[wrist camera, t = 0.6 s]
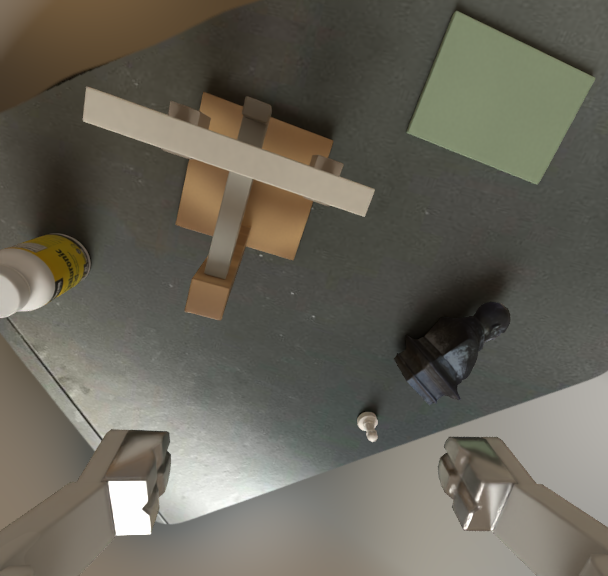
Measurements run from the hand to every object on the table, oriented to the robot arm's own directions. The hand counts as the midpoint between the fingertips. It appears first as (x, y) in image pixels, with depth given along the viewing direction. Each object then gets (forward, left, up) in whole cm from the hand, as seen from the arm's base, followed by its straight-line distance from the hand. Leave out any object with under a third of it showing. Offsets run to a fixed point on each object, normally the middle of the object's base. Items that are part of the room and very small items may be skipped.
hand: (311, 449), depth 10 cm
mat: (-18, +15, -28) cm, 36 cm away
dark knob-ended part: (+6, +21, -28) cm, 35 cm away
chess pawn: (+20, +17, -28) cm, 38 cm away
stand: (-4, -5, -28) cm, 28 cm away
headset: (-7, -5, -23) cm, 24 cm away
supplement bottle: (+9, -21, -28) cm, 36 cm away
